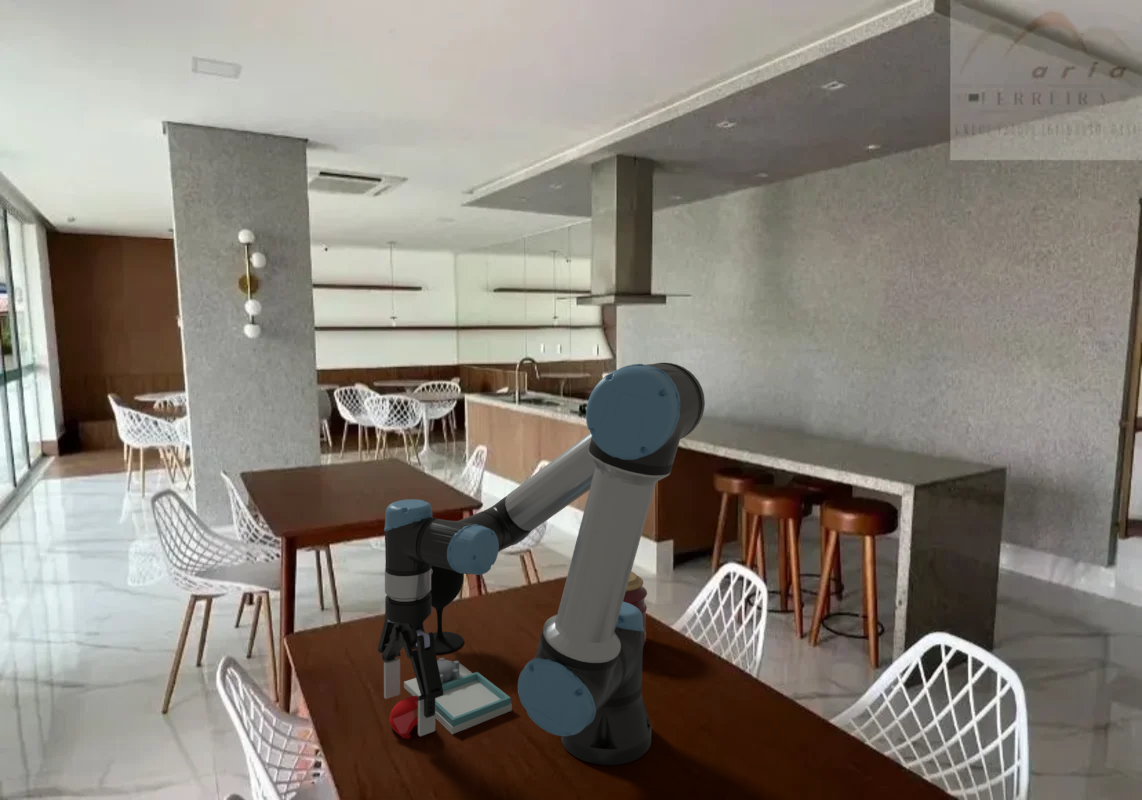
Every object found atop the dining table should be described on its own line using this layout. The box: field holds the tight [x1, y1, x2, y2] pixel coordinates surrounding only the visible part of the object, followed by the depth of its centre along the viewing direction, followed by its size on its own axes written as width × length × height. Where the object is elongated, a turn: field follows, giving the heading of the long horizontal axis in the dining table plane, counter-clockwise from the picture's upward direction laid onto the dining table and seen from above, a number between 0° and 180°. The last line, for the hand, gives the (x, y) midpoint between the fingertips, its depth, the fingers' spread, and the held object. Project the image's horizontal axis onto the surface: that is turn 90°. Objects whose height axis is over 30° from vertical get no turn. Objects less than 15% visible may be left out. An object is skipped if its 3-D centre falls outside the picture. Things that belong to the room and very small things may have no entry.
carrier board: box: [403, 657, 513, 735], centre depth 124 cm, size 19×12×4 cm, turn 38°
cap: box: [389, 695, 418, 740], centre depth 115 cm, size 8×6×6 cm
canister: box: [623, 571, 648, 648], centre depth 147 cm, size 13×13×18 cm
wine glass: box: [430, 565, 465, 656], centre depth 146 cm, size 10×10×20 cm
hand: (408, 713), depth 115 cm, fingers open, 13 cm apart
